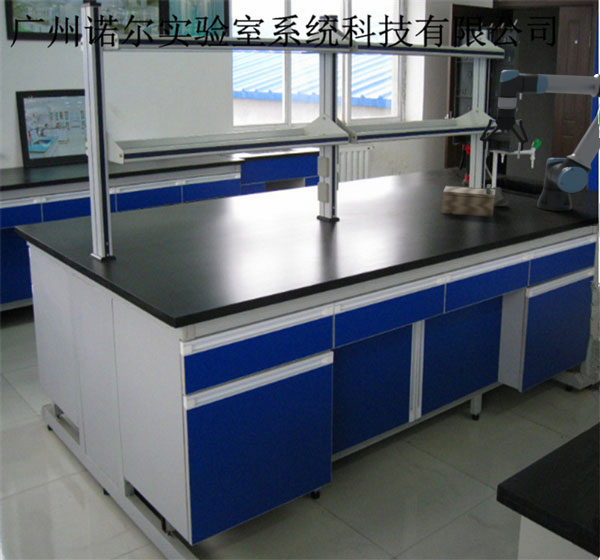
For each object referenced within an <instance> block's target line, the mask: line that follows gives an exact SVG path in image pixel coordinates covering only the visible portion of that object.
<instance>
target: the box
mask: <svg viewBox="0 0 600 560" xmlns="http://www.w3.org/2000/svg"><path fill="white" fill-rule="evenodd" d="M447 186H448V187H458V186H455V185H447ZM462 187H463V188H473V187H470V186H462ZM476 188H477V189H486V188H487V187H486V188H483V187H476ZM490 189H491V188H490ZM491 190H495V189H491ZM494 199H495V195H488V194H474V193H460V192H446V191H444V190H443V191H442V201H441V214H450V213H452V215H464V216H475V217H476V216H477V217H491V218H493V216H494V207H495V206H494Z"/></svg>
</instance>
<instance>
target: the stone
mask: <svg viewBox="0 0 600 560" xmlns="http://www.w3.org/2000/svg"><path fill="white" fill-rule="evenodd" d="M490 189H495V199H494V207H506V206H507V205H508V204H509V203H510V202H509V200H508V197H507V196H506V193H504V192H503V190H502V187H501V186H499V187H498V186H496V187H495V186H494V187H491V188H490Z"/></svg>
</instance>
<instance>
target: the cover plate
mask: <svg viewBox="0 0 600 560" xmlns="http://www.w3.org/2000/svg"><path fill="white" fill-rule="evenodd" d="M448 186H449V185H445V187H444V189H443V191H446V192H460V193H474V194H488V195H495V190H491V188H492V187H491V186H492V184H490V183H488V184H486V189H477V188H478V187H472V188H463V187H464V186H457V187H448Z"/></svg>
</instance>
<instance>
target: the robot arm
mask: <svg viewBox="0 0 600 560" xmlns="http://www.w3.org/2000/svg"><path fill="white" fill-rule="evenodd" d="M499 77H500V78H499V90H498V91H499V92H498V100H497V107H498V108H497V111H496V119H493V118H489V119H488V124H487V125H486V127H485V129H484V130H483V132H482V133H481V135H480V137H479V141H481V142H483V145H482V146H483V147H482V148H483V150H485V155H484V158H486V159H487V158H488V150H489V149H488V148H489V140H490V139H491V138H492V136H494V135H495V134H496V133H497V132H498V131H499V130H501V131H509V130H511V131H512V132H513V135H515V137H516V138H517V140H518V141H519V142H518V148H517V160H520V157H521V152H522V151H523V150H524V145H525V143H528V142H529V137H528V136H527V132H526V131H525V128H524V126H523V119H516V113H517V112H516V110H517V109H516V107H517V102H518V101H517V100H518V94H537V95H538V94H544V93H552V94H554V93H555V94H574V95H590V96H591V97H592V98H600V73H599V74H598V73H597V74H595V75H594V76H590V75H589V76H587V75H566V74H565V75H564V74H563V75H562V74H541V73H525V72H521V73H520V71H519V70H517V69H502V71H501V72H500V76H499ZM494 123H495V124H496V126H495V127H494V129H492V130H491V132H489V134H488V135H487V133H488V131H489V130H490V128H491V126H492V125H494ZM516 124H517V126H519V128H520V131H521V133H522V134H521V135H522V136H523V138H524V139H523V138H522V137H521V136H520V133H518V131H517V130H516V129H515V127H514V126H515V125H516ZM486 135H487V136H486ZM599 151H600V138H599V124H598V113H597V114H596V116H595V118H594V119H593V120H592V122H591V124H590V125H589V126H588V128H587V130H586V132H585V134H584V135H583V136H582V138H581V140H580V141H579V143H578V144H577V146H576V147H575V149H574V151H573V153H572V154H570V155H567V156H565V157H549V158H547V159H546V164H545V169H544V171H545V172H544V179H543V187H542V188H543V189H542V191H541V194H540V195H539V198H538V200H537V201H536V202H537V204H536V207H537V208H539V209H543V210H548V211H554V212H567V211H571V210H572V208H573V203H572V198H571V197H572V196H571V194H573V193H574V194H575V193H578V192H580V191H582V190H584V188H585V187H586V186H587V184H588V180H589V176H588V175H589V173H590V172H591V171H592V166H591V165H592V162H593V160H594V159H595V157H596V155H597V154H598V152H599ZM570 193H571V194H570Z"/></svg>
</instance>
